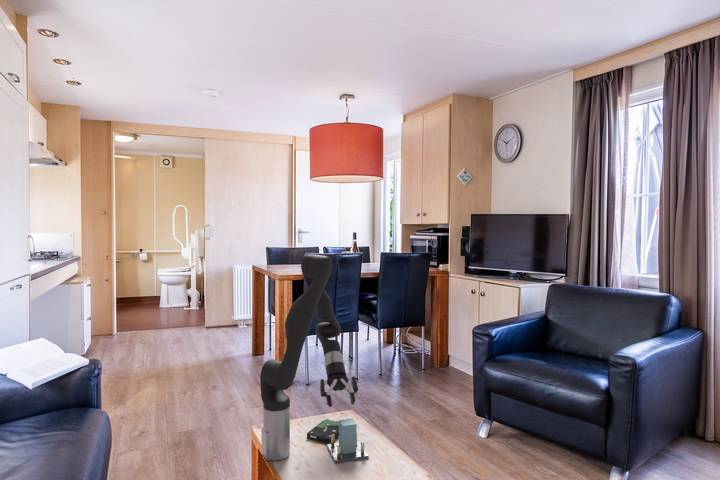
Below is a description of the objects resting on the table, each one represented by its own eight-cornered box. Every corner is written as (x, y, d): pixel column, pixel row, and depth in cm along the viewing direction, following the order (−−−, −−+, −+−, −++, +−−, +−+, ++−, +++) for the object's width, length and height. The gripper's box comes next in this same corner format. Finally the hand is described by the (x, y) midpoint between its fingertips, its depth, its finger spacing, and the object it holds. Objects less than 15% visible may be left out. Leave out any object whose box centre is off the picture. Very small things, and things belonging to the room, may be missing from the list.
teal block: (342, 454, 160) (342, 426, 159) (338, 447, 164) (339, 420, 164) (356, 452, 161) (356, 424, 161) (352, 445, 166) (352, 418, 166)
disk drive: (330, 446, 169) (348, 429, 182) (330, 438, 169) (348, 422, 182) (306, 440, 173) (325, 424, 187) (306, 433, 173) (325, 417, 186)
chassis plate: (335, 463, 155) (335, 449, 155) (327, 447, 167) (327, 433, 166) (368, 458, 159) (368, 444, 159) (358, 442, 170) (358, 429, 170)
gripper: (318, 362, 176) (324, 402, 165) (353, 359, 180) (362, 398, 169) (315, 371, 181) (321, 411, 170) (350, 368, 185) (358, 407, 174)
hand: (341, 405), depth 170 cm, fingers open, 8 cm apart
